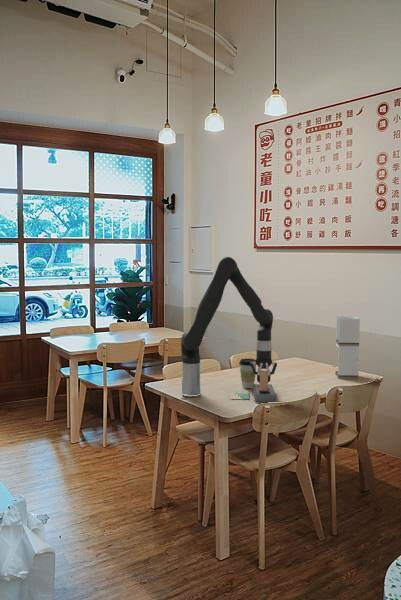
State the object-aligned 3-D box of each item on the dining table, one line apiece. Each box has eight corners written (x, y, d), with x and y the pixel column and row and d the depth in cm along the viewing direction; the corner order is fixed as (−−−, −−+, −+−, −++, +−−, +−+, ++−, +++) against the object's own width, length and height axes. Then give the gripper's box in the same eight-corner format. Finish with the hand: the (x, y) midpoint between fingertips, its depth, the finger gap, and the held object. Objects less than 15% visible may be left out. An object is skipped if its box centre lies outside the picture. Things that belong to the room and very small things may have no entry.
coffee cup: (242, 390, 285) (242, 362, 283) (236, 385, 294) (236, 358, 293) (259, 388, 287) (260, 361, 286) (253, 384, 297) (253, 357, 295)
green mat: (229, 399, 267) (229, 398, 267) (229, 394, 277) (229, 393, 277) (249, 399, 267) (249, 398, 267) (248, 394, 277) (248, 393, 277)
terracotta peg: (259, 393, 269) (260, 371, 268) (259, 391, 273) (259, 370, 272) (267, 393, 269) (268, 372, 268) (267, 391, 273) (267, 370, 272)
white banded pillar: (354, 374, 318) (356, 316, 315) (358, 379, 308) (359, 318, 304) (335, 374, 319) (336, 316, 316) (338, 378, 309) (339, 318, 305)
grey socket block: (255, 402, 262) (255, 394, 262) (252, 391, 282) (252, 384, 281) (275, 402, 262) (275, 394, 261) (271, 391, 281) (271, 384, 281)
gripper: (277, 347, 273) (276, 380, 274) (249, 347, 273) (249, 380, 275) (278, 350, 265) (278, 384, 267) (250, 350, 266) (249, 384, 267)
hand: (263, 382), depth 271 cm, fingers closed on terracotta peg, 4 cm apart
